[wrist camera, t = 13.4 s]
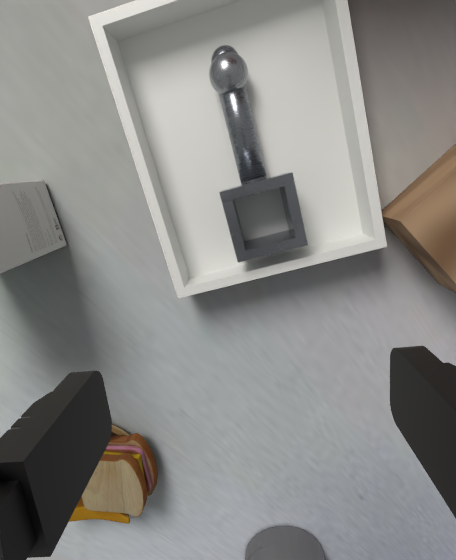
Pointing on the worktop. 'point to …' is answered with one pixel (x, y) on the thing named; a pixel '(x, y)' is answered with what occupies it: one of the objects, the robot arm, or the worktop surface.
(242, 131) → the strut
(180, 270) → the bin
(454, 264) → the stud block
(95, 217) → the worktop surface
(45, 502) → the robot arm
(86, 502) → the toy sandwich meal
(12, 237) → the skincare box
